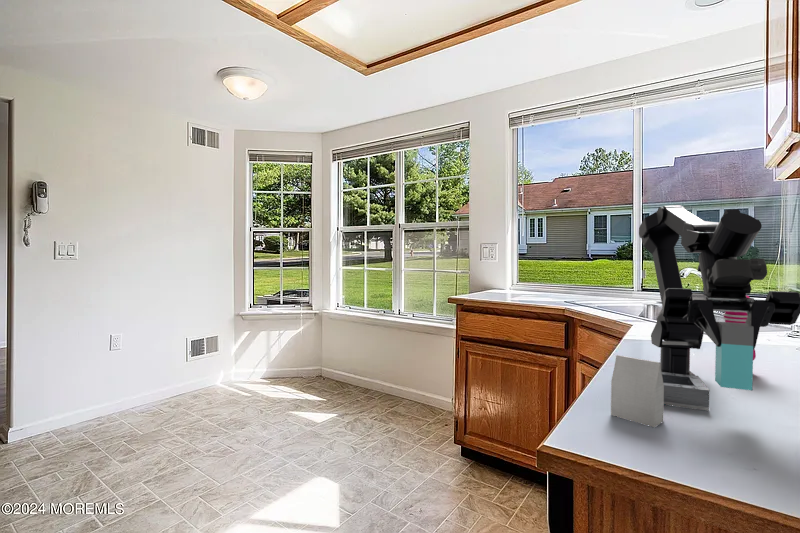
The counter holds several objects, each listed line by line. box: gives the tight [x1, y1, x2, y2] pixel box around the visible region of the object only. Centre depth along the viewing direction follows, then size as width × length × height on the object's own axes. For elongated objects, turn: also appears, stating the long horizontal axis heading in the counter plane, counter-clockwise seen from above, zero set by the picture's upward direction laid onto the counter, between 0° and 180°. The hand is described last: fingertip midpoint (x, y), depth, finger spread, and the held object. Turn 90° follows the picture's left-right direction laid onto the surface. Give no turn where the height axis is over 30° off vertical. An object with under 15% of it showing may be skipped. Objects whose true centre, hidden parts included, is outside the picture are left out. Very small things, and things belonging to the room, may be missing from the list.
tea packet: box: [610, 354, 665, 428], centre depth 71 cm, size 4×7×10 cm, turn 40°
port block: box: [662, 372, 710, 412], centre depth 81 cm, size 10×10×4 cm
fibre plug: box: [714, 321, 754, 391], centre depth 69 cm, size 4×4×10 cm
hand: (736, 346), depth 68 cm, fingers closed on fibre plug, 4 cm apart
